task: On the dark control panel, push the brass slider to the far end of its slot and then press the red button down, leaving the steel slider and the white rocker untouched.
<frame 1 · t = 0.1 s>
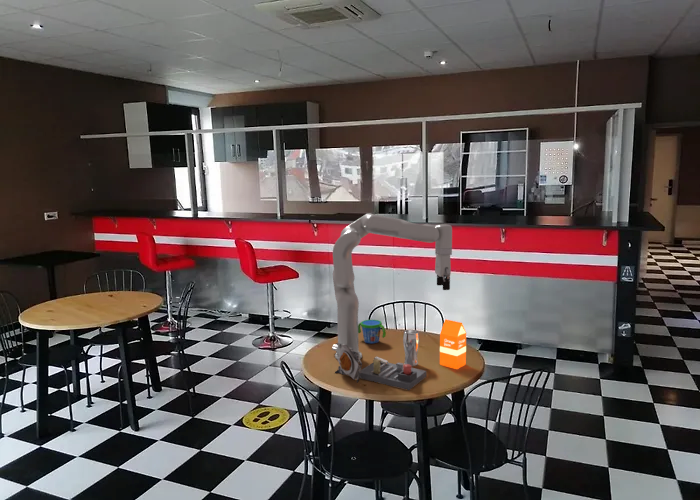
hand: (443, 287, 244), 31 cm above the table, tool pointing down, fingers open, 9 cm apart
rocker: (381, 360, 227), point 4 cm above the table, hinge at 10.0°
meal: (347, 377, 220), on the table
steel slider: (400, 367, 218), point 4 cm above the table, slide at 7.0 cm
brass slider: (377, 366, 216), point 6 cm above the table, slide at 0.0 cm
panel: (392, 377, 219), on the table
orange juice: (452, 364, 232), on the table
beer glass: (411, 364, 233), on the table
snack cup: (371, 342, 264), on the table
button: (407, 369, 210), point 6 cm above the table, slide at 0.0 cm
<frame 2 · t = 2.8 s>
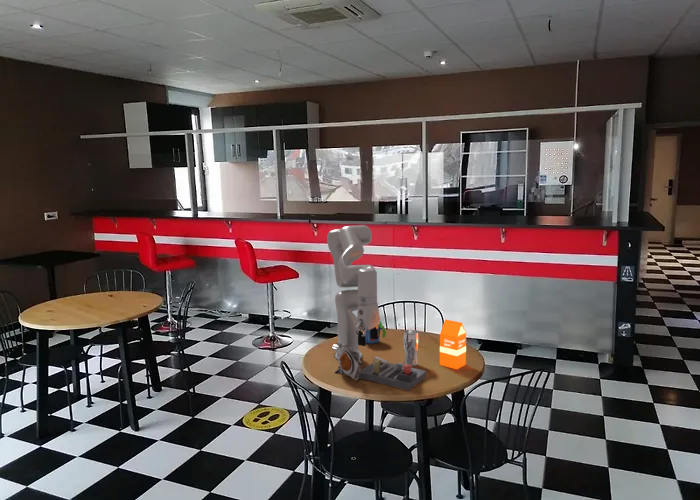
hand: (368, 341, 208), 18 cm above the table, tool pointing down, fingers open, 8 cm apart
nothing on the table moved.
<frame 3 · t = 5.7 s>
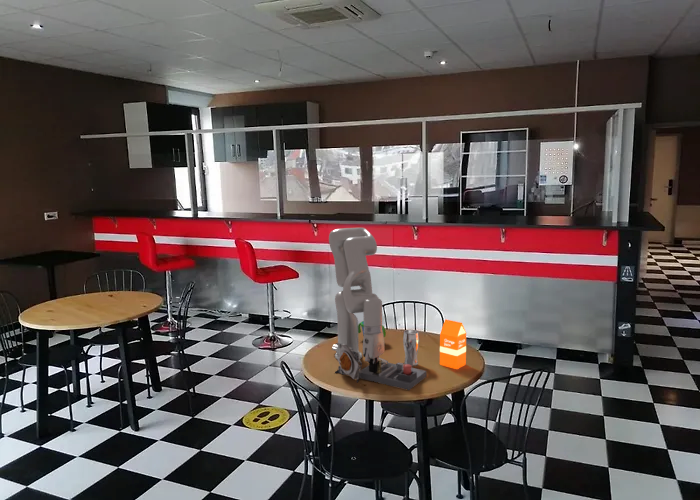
hand: (373, 371, 214), 4 cm above the table, tool pointing down, fingers closed
brass slider: (377, 366, 216), point 6 cm above the table, slide at 0.7 cm, touching gripper
everything else where it was.
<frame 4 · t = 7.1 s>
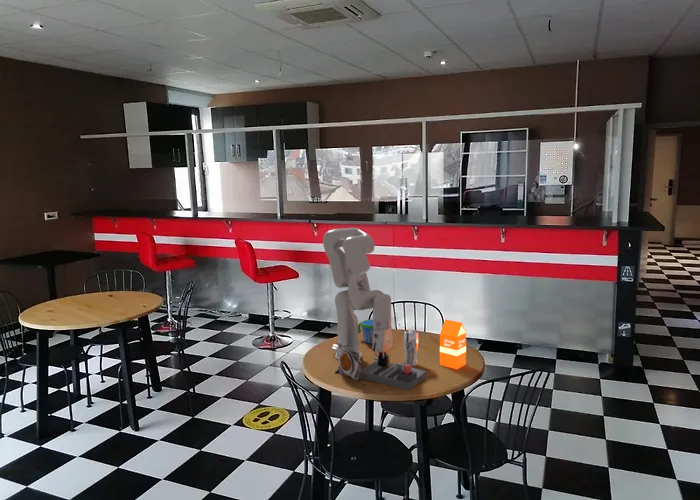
hand: (382, 365, 220), 4 cm above the table, tool pointing down, fingers closed
brass slider: (386, 360, 222), point 6 cm above the table, slide at 7.9 cm, touching gripper
everything else where it was.
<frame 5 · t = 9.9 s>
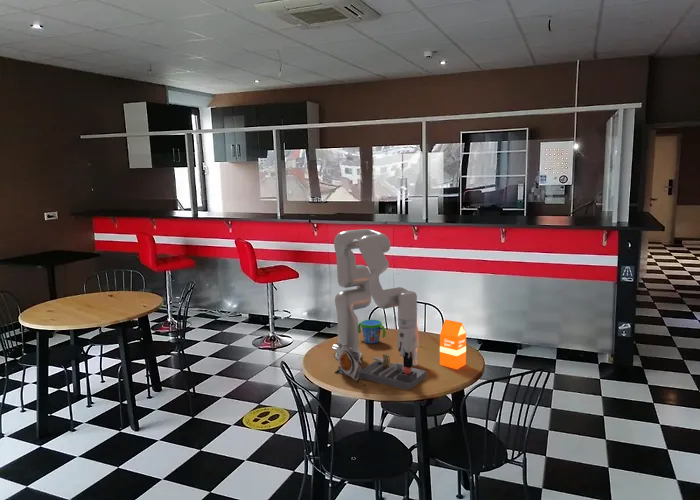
hand: (408, 366, 210), 8 cm above the table, tool pointing down, fingers closed
brass slider: (386, 360, 222), point 6 cm above the table, slide at 8.0 cm
button: (407, 370, 210), point 6 cm above the table, slide at 0.3 cm, touching gripper
everything else where it was.
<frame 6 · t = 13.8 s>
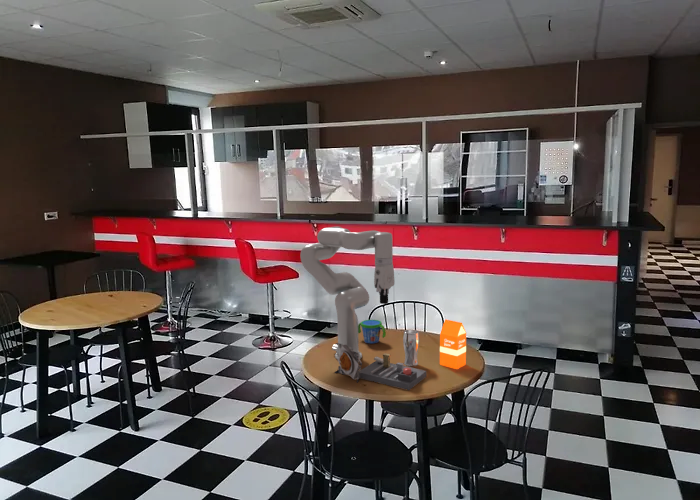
hand: (383, 303, 225), 29 cm above the table, tool pointing down, fingers closed
button: (407, 373, 210), point 5 cm above the table, slide at 1.5 cm
everything else where it was.
at the end: brass slider slide at 8.0 cm; button slide at 1.5 cm; steel slider slide at 7.0 cm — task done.
